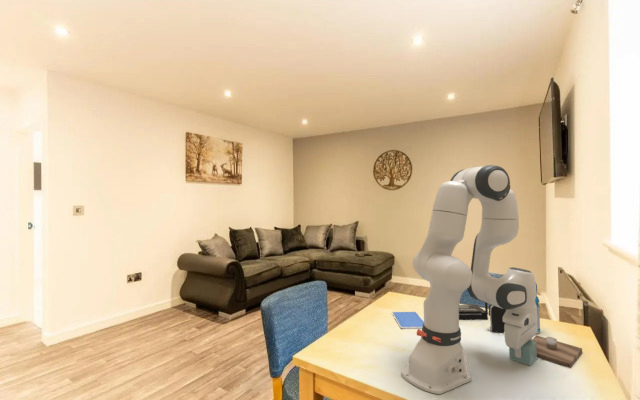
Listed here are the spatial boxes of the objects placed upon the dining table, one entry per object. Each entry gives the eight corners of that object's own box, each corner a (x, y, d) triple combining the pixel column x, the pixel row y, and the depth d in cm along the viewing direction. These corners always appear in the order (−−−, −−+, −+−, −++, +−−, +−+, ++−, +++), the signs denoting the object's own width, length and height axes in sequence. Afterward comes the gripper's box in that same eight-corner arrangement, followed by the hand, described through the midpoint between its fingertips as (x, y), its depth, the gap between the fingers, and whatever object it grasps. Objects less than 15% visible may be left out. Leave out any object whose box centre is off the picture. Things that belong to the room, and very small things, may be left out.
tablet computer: (391, 314, 152) (391, 311, 152) (416, 313, 151) (416, 311, 151) (400, 330, 132) (400, 327, 132) (429, 329, 132) (429, 326, 132)
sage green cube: (530, 365, 101) (529, 348, 101) (509, 358, 106) (508, 341, 106) (537, 359, 105) (536, 342, 105) (516, 352, 110) (515, 336, 110)
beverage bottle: (545, 334, 124) (544, 286, 124) (524, 334, 124) (523, 286, 124) (531, 326, 132) (530, 280, 132) (512, 326, 132) (511, 281, 132)
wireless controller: (454, 322, 139) (453, 285, 139) (443, 311, 153) (442, 278, 153) (498, 322, 138) (497, 285, 138) (483, 311, 152) (482, 277, 152)
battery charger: (504, 329, 130) (503, 302, 130) (509, 332, 126) (508, 305, 126) (487, 328, 130) (487, 302, 130) (492, 332, 127) (491, 305, 127)
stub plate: (570, 368, 99) (569, 353, 99) (521, 352, 110) (521, 338, 110) (582, 352, 109) (581, 338, 109) (536, 339, 120) (536, 326, 120)
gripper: (522, 304, 114) (523, 340, 114) (500, 318, 102) (501, 359, 102) (542, 309, 109) (543, 346, 109) (521, 324, 97) (522, 366, 97)
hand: (522, 353), depth 105 cm, fingers closed on sage green cube, 6 cm apart
